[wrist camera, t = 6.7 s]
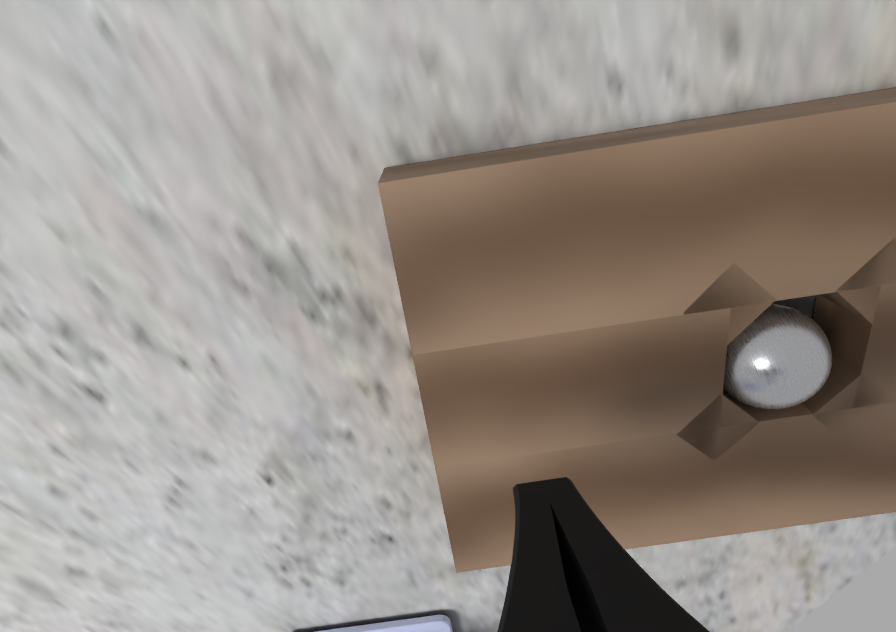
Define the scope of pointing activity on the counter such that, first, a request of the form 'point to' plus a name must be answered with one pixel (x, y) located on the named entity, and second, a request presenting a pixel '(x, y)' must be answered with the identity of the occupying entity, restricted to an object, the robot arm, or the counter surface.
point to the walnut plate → (653, 321)
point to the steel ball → (777, 360)
